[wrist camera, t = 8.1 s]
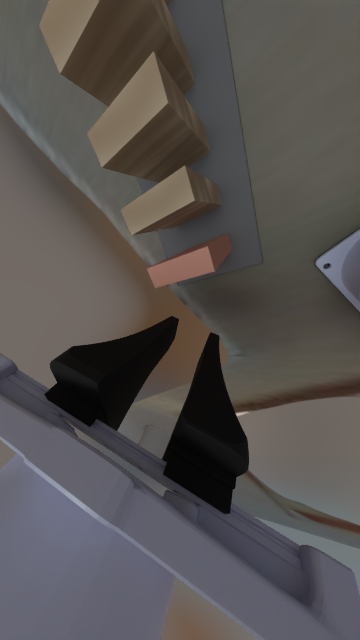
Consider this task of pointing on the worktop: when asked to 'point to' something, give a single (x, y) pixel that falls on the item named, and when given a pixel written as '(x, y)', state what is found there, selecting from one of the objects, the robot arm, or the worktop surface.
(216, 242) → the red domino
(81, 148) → the worktop surface
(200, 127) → the domino
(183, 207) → the domino
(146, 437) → the lumpy-topped squat cylinder
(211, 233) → the mat
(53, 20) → the domino
